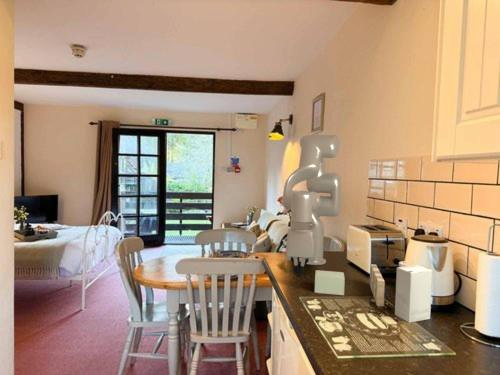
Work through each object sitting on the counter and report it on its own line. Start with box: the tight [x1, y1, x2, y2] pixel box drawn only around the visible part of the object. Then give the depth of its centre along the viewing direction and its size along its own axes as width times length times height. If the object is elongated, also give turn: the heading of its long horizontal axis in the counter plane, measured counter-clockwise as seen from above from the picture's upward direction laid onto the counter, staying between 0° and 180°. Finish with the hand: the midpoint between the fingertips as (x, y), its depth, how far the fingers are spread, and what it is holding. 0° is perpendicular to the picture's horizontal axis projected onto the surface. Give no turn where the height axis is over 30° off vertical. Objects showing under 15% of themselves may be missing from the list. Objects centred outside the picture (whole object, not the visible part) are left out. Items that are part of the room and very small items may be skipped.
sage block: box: [314, 269, 346, 296], centre depth 126 cm, size 8×10×6 cm
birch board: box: [369, 263, 386, 307], centre depth 123 cm, size 22×2×8 cm, turn 167°
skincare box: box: [394, 264, 433, 324], centre depth 103 cm, size 8×6×15 cm
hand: (299, 275), depth 129 cm, fingers closed
